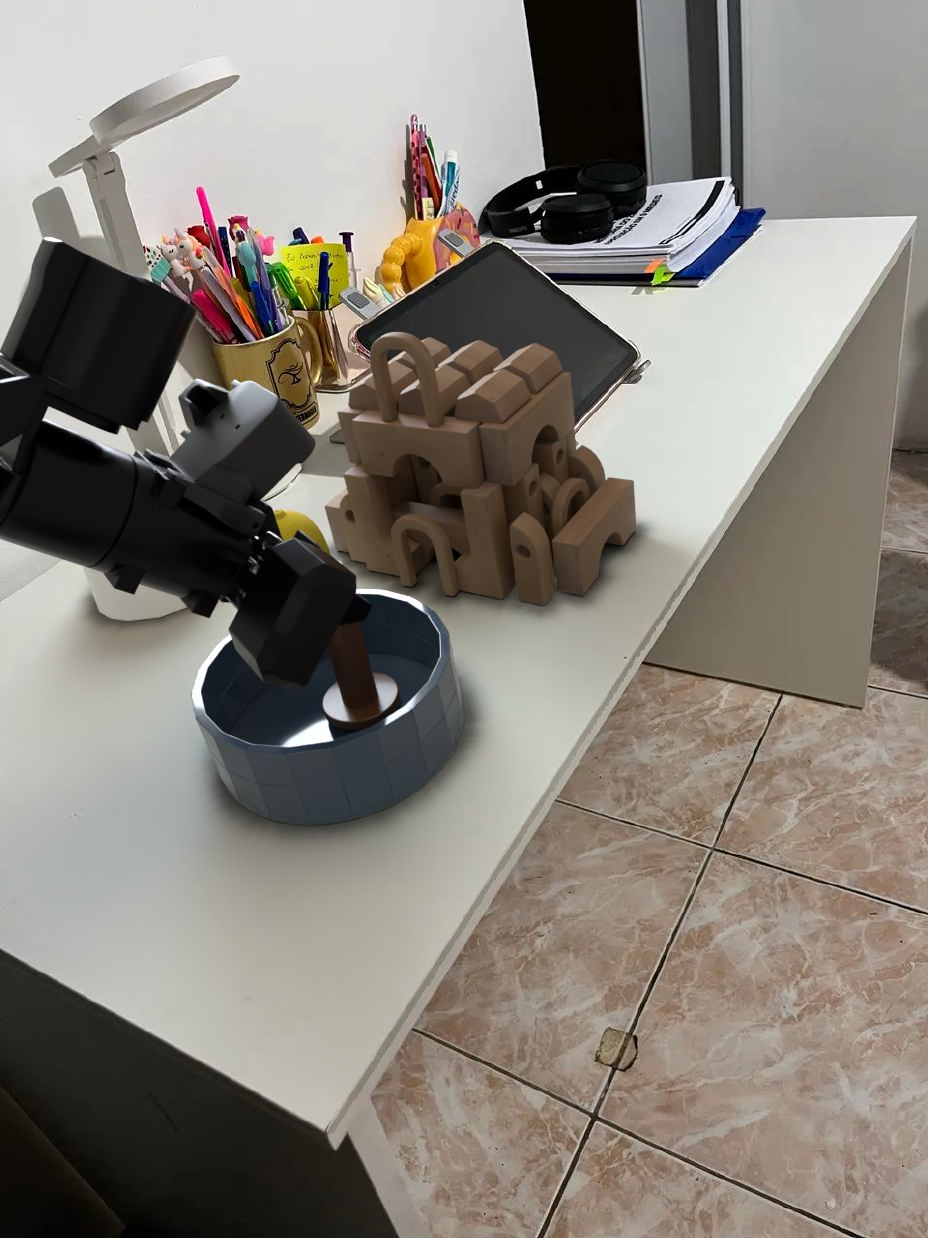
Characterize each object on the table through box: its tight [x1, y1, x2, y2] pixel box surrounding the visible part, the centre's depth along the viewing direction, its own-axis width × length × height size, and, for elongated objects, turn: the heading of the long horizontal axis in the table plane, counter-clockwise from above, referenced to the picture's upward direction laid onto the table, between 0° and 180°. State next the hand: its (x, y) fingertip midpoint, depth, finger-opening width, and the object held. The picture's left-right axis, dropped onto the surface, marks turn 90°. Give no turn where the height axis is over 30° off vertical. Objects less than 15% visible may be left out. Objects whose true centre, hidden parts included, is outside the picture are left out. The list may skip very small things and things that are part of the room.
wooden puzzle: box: [323, 331, 637, 606], centre depth 69 cm, size 22×15×19 cm, turn 59°
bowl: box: [190, 588, 464, 826], centre depth 57 cm, size 15×15×6 cm
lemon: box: [273, 508, 331, 555], centre depth 69 cm, size 6×6×8 cm
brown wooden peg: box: [322, 559, 400, 730], centre depth 56 cm, size 5×5×10 cm
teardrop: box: [82, 566, 187, 622], centre depth 74 cm, size 11×11×12 cm
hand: (357, 603), depth 55 cm, fingers closed on brown wooden peg, 2 cm apart
